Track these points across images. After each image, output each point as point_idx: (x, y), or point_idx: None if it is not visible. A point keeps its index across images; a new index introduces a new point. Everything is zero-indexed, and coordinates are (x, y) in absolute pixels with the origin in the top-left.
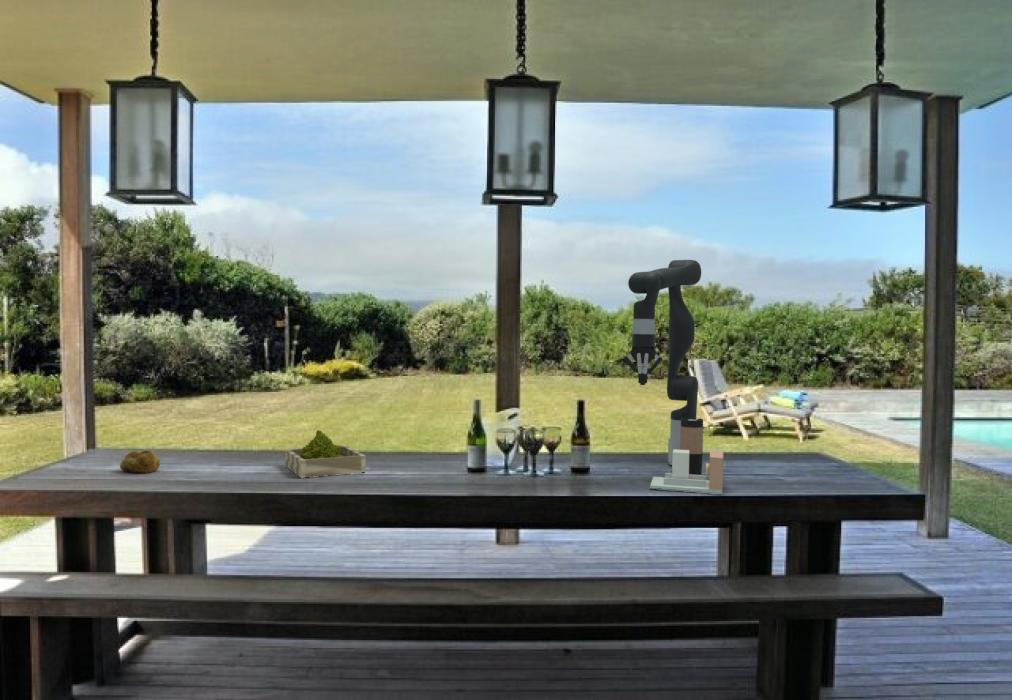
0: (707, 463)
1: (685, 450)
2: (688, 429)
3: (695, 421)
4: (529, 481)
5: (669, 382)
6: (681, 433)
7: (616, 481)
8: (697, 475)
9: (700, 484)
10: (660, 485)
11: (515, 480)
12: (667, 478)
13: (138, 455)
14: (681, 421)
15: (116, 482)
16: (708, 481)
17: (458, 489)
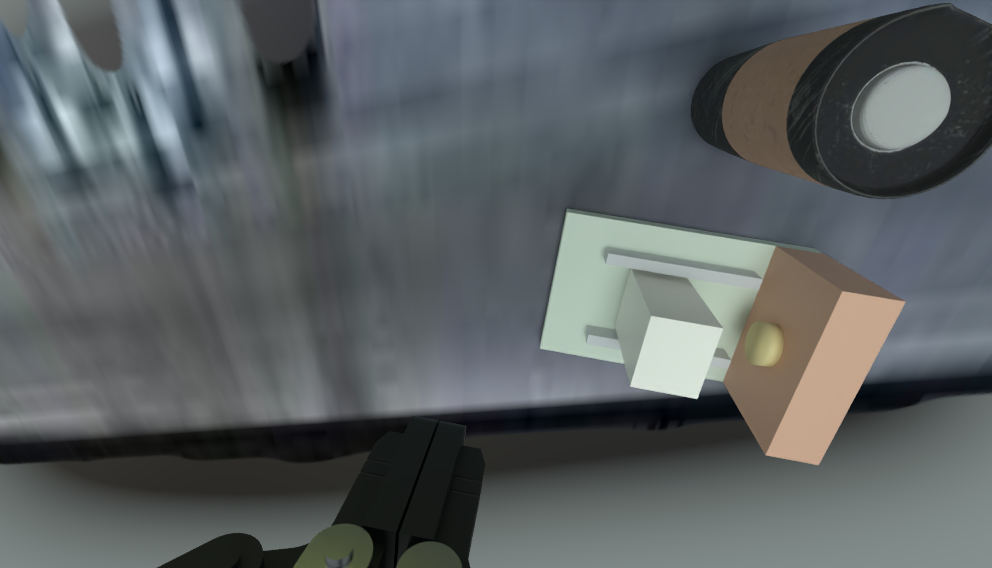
0: (770, 357)
1: (701, 338)
2: (814, 181)
3: (899, 197)
4: (180, 269)
5: None
6: (764, 134)
7: (436, 230)
8: (726, 283)
9: None
10: (572, 346)
11: (139, 261)
12: (599, 345)
13: None
14: (803, 132)
15: None
16: (764, 267)
17: (61, 380)
